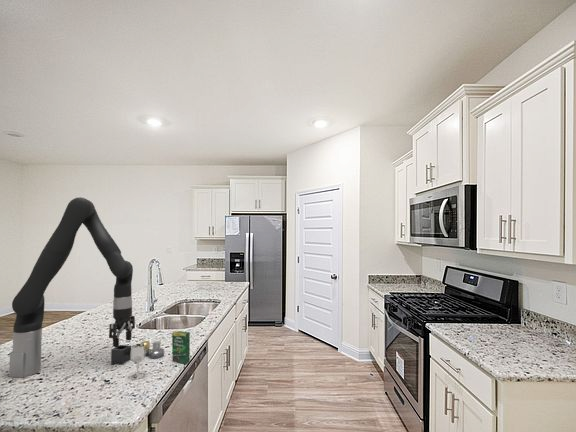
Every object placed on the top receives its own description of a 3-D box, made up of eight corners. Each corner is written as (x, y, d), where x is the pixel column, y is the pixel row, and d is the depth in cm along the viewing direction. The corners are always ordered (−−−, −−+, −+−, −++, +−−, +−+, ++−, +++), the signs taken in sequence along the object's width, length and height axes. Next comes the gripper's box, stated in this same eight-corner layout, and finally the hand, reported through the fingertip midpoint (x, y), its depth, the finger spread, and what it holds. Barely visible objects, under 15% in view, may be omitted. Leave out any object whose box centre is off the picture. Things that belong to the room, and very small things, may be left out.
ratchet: (159, 359, 148) (159, 344, 148) (123, 356, 150) (123, 342, 151) (166, 354, 154) (166, 339, 154) (132, 351, 157) (132, 337, 157)
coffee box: (171, 361, 145) (171, 331, 146) (175, 359, 148) (176, 329, 148) (185, 364, 142) (185, 334, 142) (190, 362, 145) (190, 332, 145)
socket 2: (146, 352, 155) (146, 344, 155) (138, 352, 156) (138, 343, 156) (151, 349, 159) (151, 341, 159) (143, 349, 160) (143, 340, 160)
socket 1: (122, 364, 142) (123, 350, 142) (111, 363, 143) (111, 349, 143) (131, 359, 148) (131, 345, 148) (119, 358, 148) (120, 344, 149)
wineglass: (141, 371, 135) (141, 342, 135) (148, 375, 131) (148, 345, 132) (126, 376, 130) (127, 346, 131) (133, 381, 127) (134, 349, 127)
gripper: (119, 310, 139) (119, 349, 138) (140, 302, 153) (140, 338, 152) (103, 310, 140) (103, 348, 139) (125, 302, 154) (125, 337, 153)
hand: (122, 343), depth 146 cm, fingers open, 8 cm apart
